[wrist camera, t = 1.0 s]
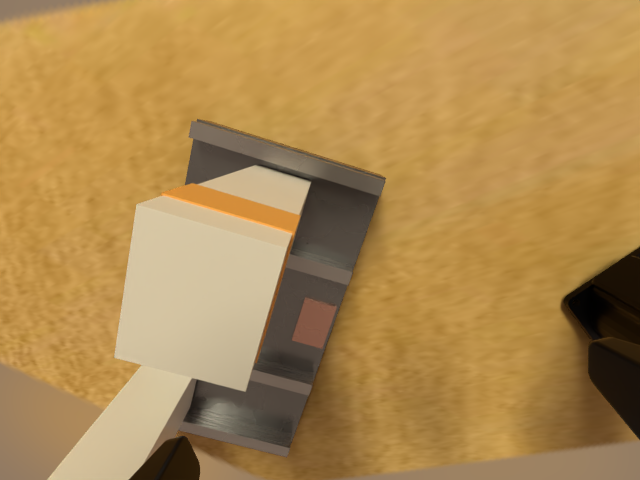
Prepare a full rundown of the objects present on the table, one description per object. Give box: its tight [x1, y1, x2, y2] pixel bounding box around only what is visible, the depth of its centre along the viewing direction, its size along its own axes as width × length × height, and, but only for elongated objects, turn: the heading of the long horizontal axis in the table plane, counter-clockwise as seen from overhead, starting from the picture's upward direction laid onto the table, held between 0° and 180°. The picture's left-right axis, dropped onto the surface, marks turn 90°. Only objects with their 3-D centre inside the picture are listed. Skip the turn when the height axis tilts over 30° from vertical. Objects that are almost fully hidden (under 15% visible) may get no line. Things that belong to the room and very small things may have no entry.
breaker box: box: [179, 119, 386, 457], centre depth 21 cm, size 10×19×3 cm, turn 163°
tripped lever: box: [114, 165, 311, 392], centre depth 13 cm, size 3×4×12 cm
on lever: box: [47, 365, 197, 480], centre depth 16 cm, size 3×4×12 cm
